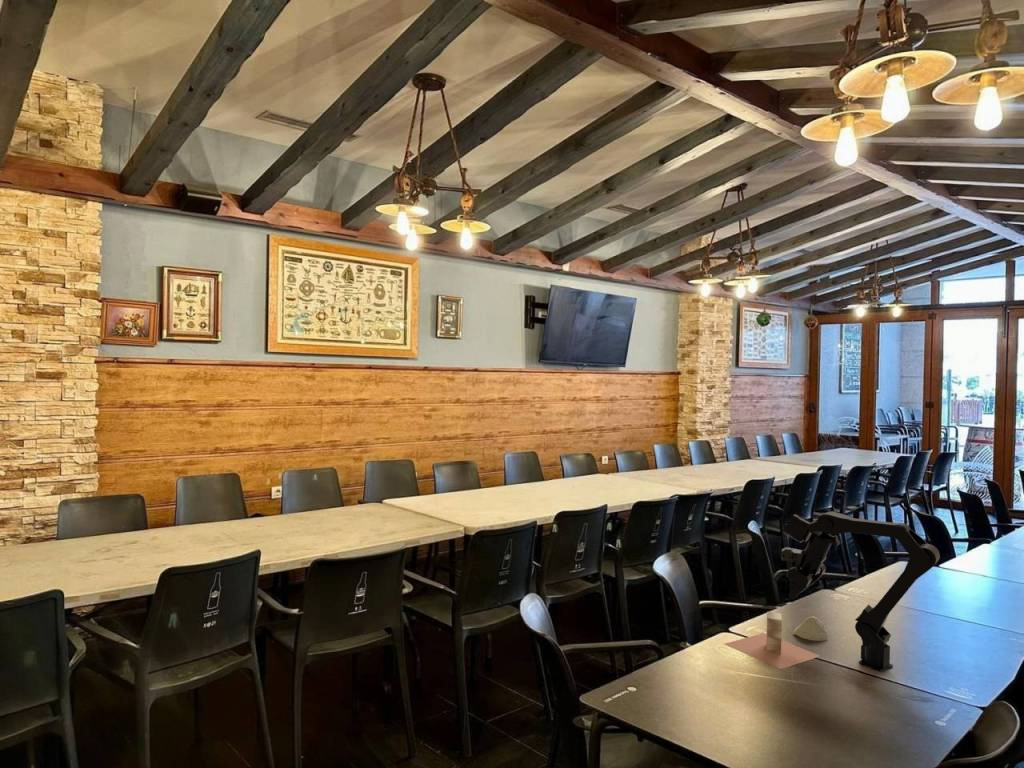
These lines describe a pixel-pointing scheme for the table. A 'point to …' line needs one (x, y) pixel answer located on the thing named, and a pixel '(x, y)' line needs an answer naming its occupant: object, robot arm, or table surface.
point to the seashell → (811, 630)
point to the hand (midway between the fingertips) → (795, 595)
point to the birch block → (774, 632)
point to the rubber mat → (757, 649)
